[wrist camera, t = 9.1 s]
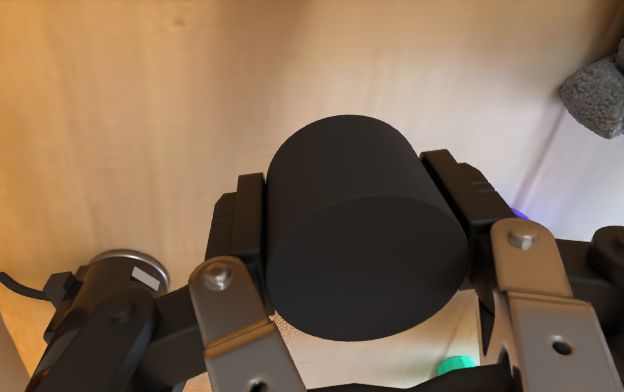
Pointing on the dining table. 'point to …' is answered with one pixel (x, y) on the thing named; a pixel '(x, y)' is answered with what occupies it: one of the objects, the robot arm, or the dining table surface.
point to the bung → (357, 233)
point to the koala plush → (598, 95)
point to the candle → (455, 364)
